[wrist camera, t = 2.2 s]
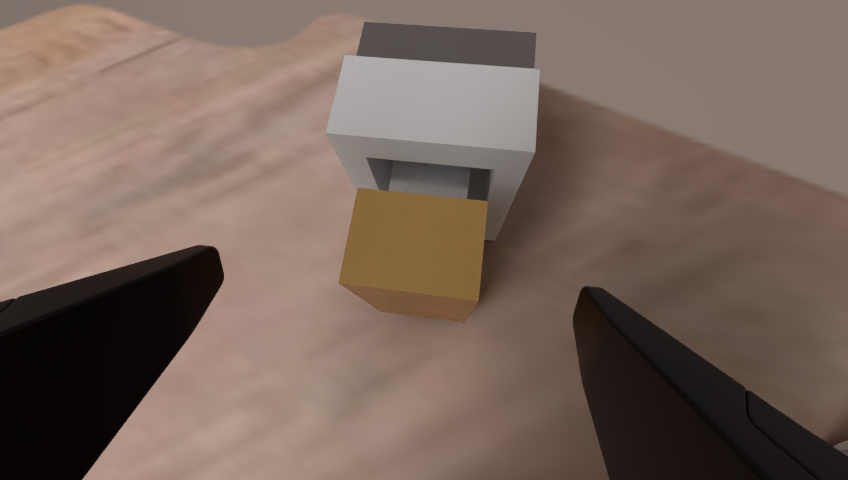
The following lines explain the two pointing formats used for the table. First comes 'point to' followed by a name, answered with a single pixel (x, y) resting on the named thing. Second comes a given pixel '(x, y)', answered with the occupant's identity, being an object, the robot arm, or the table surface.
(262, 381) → the table surface
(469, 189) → the block
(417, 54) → the block
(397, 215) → the shaft
